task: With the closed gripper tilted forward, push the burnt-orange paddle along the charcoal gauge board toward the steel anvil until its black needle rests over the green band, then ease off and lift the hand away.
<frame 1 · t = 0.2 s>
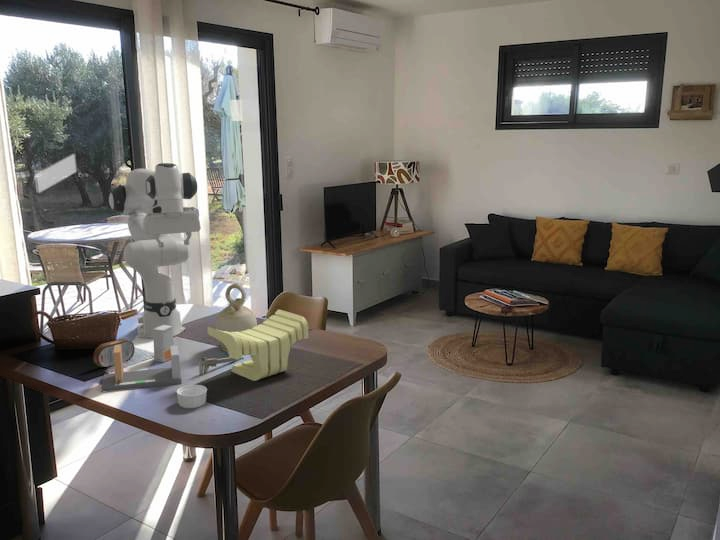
hand: (174, 246, 227), 40 cm above the table, tool pointing down, fingers open, 8 cm apart
gauge board: (142, 380, 204), on the table
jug: (237, 348, 237), on the table
ramekin: (192, 404, 187), on the table
tin: (115, 364, 219), on the table
slatted curved stool: (260, 372, 212), on the table
skincare box: (164, 359, 224), on the table
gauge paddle: (118, 364, 199), point 7 cm above the table, slide at 0.0 cm
caliper: (222, 367, 217), on the table
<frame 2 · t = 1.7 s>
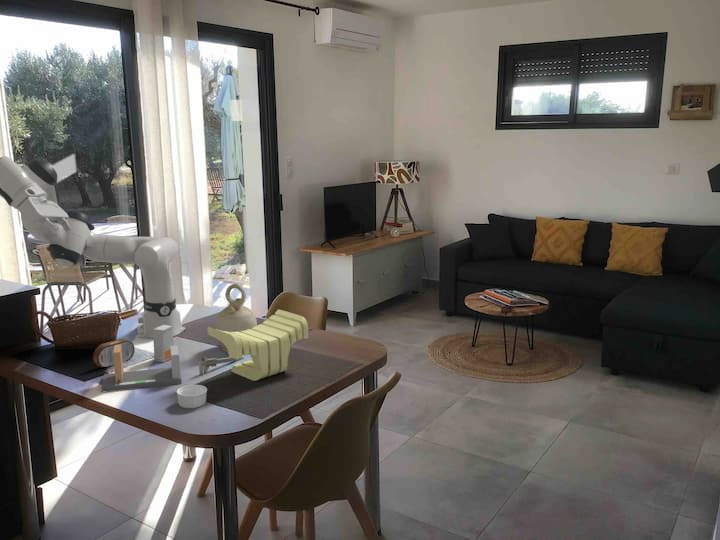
hand: (63, 230, 198), 49 cm above the table, tool tilted 45°, fingers open, 8 cm apart
nothing on the table moved.
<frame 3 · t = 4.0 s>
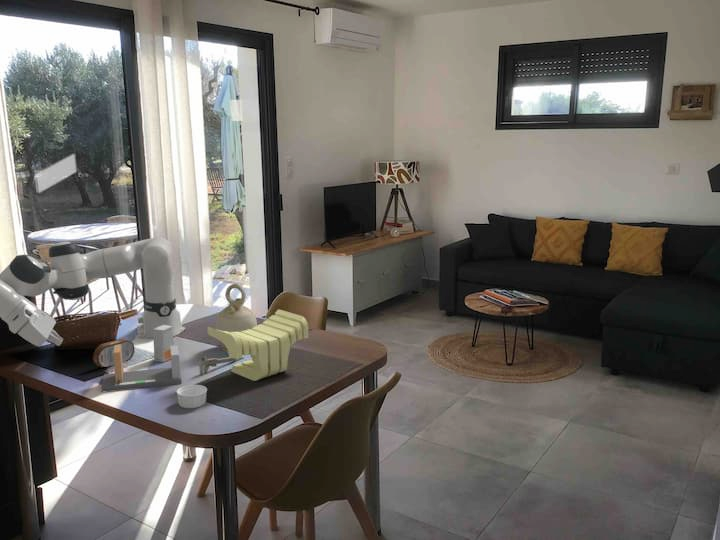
hand: (61, 343, 193), 15 cm above the table, tool tilted 45°, fingers closed
nothing on the table moved.
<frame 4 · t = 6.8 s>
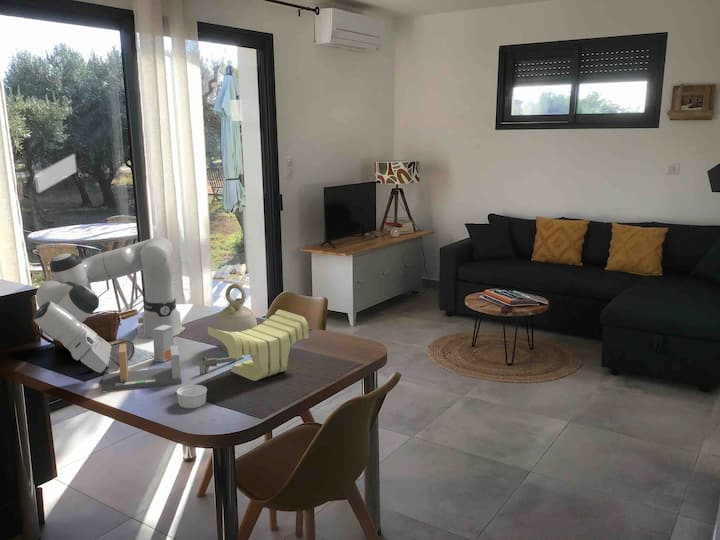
hand: (118, 368, 200), 5 cm above the table, tool tilted 45°, fingers closed, pressing on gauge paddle
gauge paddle: (123, 363, 200), point 7 cm above the table, slide at 1.5 cm, touching gripper
everything else where it was.
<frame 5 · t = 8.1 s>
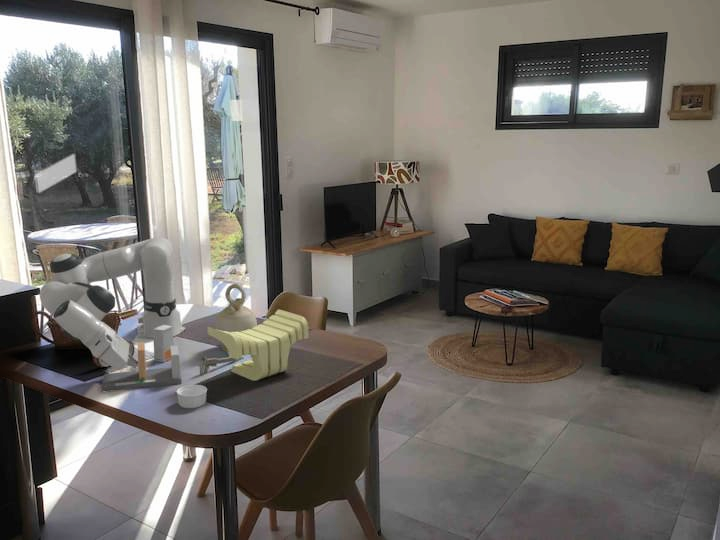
hand: (136, 365, 202), 5 cm above the table, tool tilted 45°, fingers closed, pressing on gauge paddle
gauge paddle: (141, 362, 201), point 7 cm above the table, slide at 7.1 cm, touching gripper
everything else where it was.
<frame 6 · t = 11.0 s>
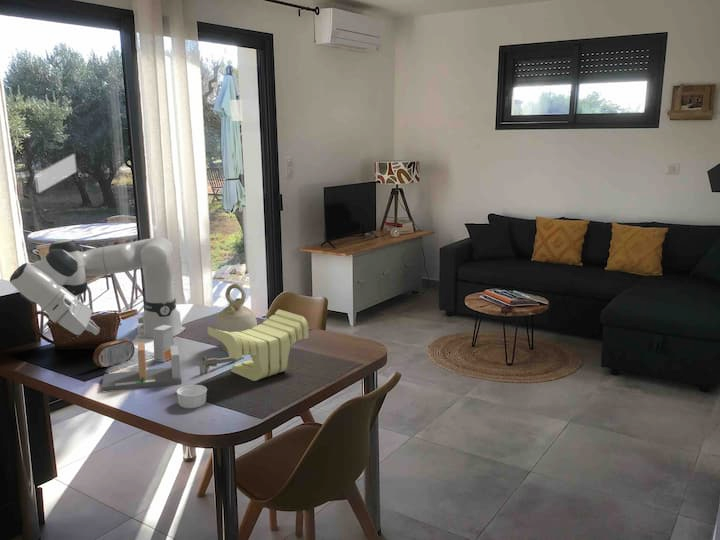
hand: (98, 332, 196), 18 cm above the table, tool tilted 45°, fingers closed
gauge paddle: (142, 362, 201), point 7 cm above the table, slide at 7.2 cm
everything else where it was.
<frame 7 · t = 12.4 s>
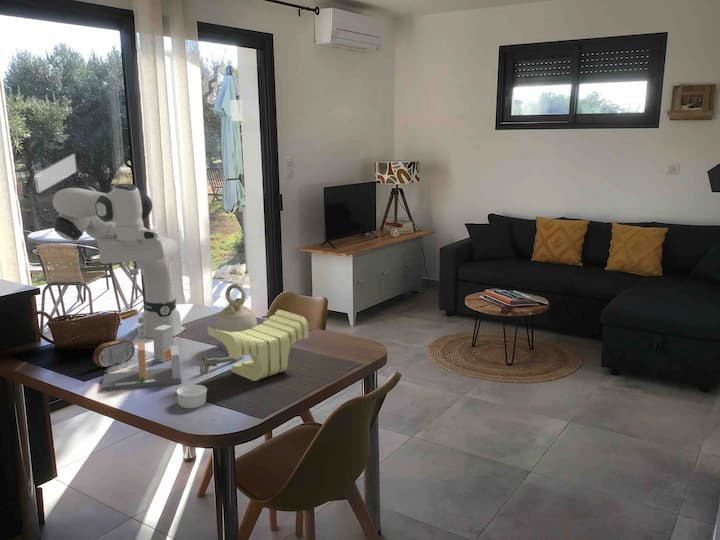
hand: (134, 274, 208), 33 cm above the table, tool pointing down, fingers closed
nothing on the table moved.
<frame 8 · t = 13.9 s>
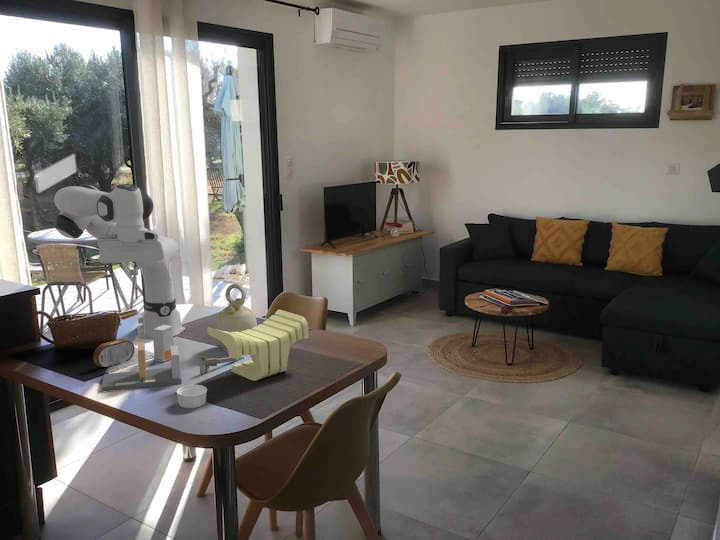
hand: (133, 274, 208), 33 cm above the table, tool pointing down, fingers closed
nothing on the table moved.
at the end: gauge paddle slide at 7.2 cm; caliper moved 0.6 cm from its start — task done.
